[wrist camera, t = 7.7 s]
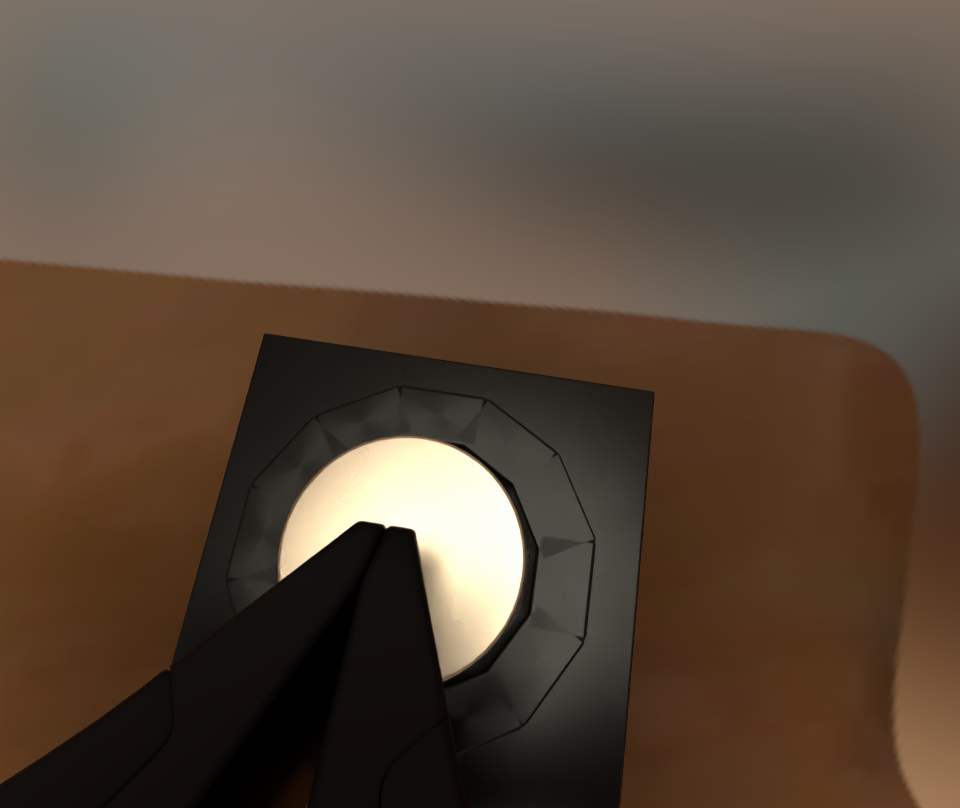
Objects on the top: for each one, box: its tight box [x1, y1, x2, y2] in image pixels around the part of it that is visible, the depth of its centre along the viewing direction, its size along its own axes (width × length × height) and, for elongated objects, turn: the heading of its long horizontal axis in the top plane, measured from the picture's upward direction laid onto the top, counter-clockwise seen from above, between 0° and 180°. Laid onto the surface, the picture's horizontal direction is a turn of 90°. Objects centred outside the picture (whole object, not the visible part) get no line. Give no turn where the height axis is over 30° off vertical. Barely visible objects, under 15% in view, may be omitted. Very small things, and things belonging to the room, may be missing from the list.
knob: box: [277, 435, 526, 682], centre depth 12 cm, size 4×4×2 cm
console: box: [172, 334, 654, 808], centre depth 16 cm, size 10×10×8 cm
